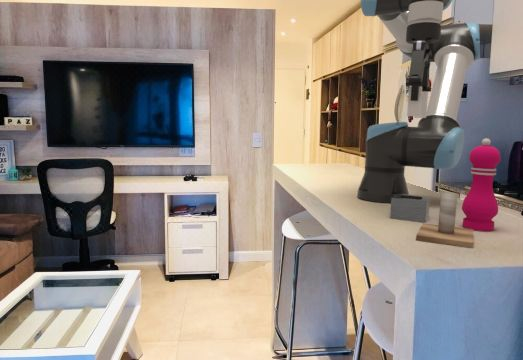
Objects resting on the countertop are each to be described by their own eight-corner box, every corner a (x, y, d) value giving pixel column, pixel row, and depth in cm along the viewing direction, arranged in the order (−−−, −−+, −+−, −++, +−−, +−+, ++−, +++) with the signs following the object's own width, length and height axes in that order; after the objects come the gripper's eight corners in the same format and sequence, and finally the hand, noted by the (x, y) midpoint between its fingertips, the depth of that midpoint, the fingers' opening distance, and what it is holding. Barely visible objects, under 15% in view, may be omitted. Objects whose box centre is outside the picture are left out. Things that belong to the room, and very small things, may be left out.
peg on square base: (422, 227, 93) (425, 187, 92) (472, 233, 89) (476, 191, 88) (415, 240, 82) (419, 194, 81) (472, 248, 78) (477, 200, 77)
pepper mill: (501, 233, 90) (510, 139, 88) (464, 230, 92) (473, 138, 89) (490, 225, 97) (498, 138, 95) (456, 223, 99) (464, 137, 96)
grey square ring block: (395, 212, 109) (396, 193, 108) (428, 216, 106) (429, 196, 105) (389, 218, 102) (391, 197, 101) (425, 222, 98) (426, 201, 98)
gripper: (413, 36, 111) (407, 118, 113) (398, 12, 88) (391, 115, 91) (444, 34, 107) (437, 118, 110) (437, 9, 85) (429, 115, 88)
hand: (417, 117), depth 101 cm, fingers open, 13 cm apart
